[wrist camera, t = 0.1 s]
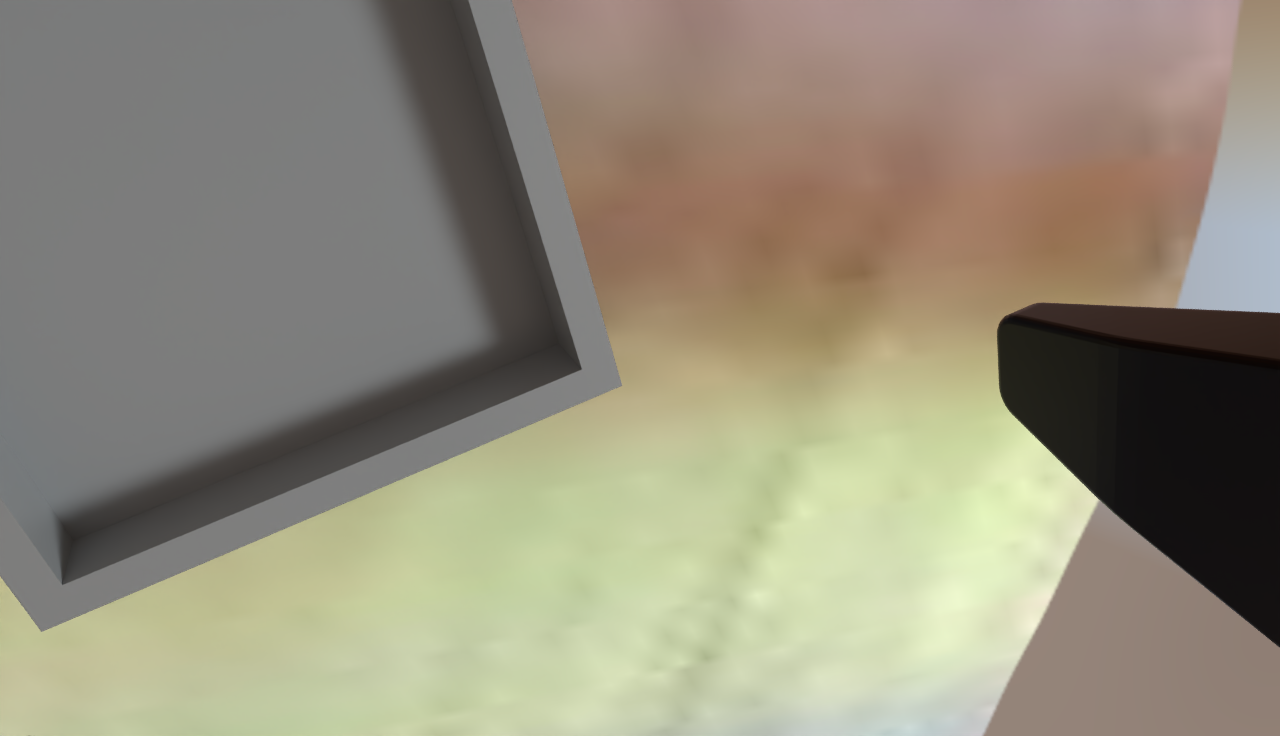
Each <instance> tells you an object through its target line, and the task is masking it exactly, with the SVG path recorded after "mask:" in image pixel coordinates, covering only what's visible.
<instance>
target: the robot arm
mask: <svg viewBox="0 0 1280 736" xmlns="http://www.w3.org/2000/svg"><path fill="white" fill-rule="evenodd" d="M997 346H998V369H999V388H1000V393H1001V397H1002V399H1003V401H1004V404H1005V405H1006V407H1007V408H1008V410H1009V411H1010V412H1011V413H1012V415H1013V416H1014V417H1015V418H1016V419H1018V420H1019V421H1020V422H1021V423H1022V424H1023V425H1024V426H1025V427H1026V428H1027V429H1028V430H1029V431H1030V432H1031V433H1032V434H1033V435H1034V436H1035V437H1036V438H1037V439H1038V440H1039V441H1040V442H1041V443H1042V444H1043V445H1044V446H1045V447H1046V448H1047V449H1048V450H1049V451H1050V452H1051V453H1052V454H1053V455H1054V456H1055V457H1056V458H1057V459H1058V460H1059V461H1060V462H1061V463H1062V464H1063V465H1064V466H1065V467H1066V468H1067V469H1068V470H1069V471H1071V472H1072V473H1073V474H1074V475H1075V476H1076V477H1077V478H1078V479H1079V480H1080V481H1081V482H1082V483H1083V484H1084V485H1085V486H1086V487H1087V488H1088V489H1089V490H1090V491H1091V492H1092V493H1093V494H1094V495H1095V496H1096V497H1097V498H1098V499H1099V500H1100V501H1101V502H1102V503H1104V504H1105V505H1106V506H1107V507H1108V508H1109V509H1110V510H1111V511H1112V512H1113V513H1114V514H1115V515H1117V516H1118V517H1119V518H1120V519H1121V520H1123V521H1124V522H1125V523H1126V524H1127V525H1128V526H1130V527H1131V528H1132V529H1133V530H1135V531H1136V532H1137V533H1138V534H1139V535H1141V536H1142V537H1143V538H1144V539H1146V540H1147V541H1148V542H1149V543H1151V544H1152V545H1153V546H1154V547H1155V548H1157V549H1158V550H1159V551H1161V552H1162V553H1163V554H1164V555H1166V556H1167V557H1168V558H1169V559H1170V560H1172V561H1173V562H1174V563H1175V564H1177V565H1178V566H1179V567H1180V568H1182V569H1183V570H1184V571H1185V572H1187V573H1188V574H1189V575H1190V576H1192V577H1193V578H1194V579H1195V580H1197V581H1198V582H1199V583H1200V584H1201V585H1203V586H1204V587H1205V588H1207V589H1208V590H1209V591H1210V592H1211V593H1213V594H1214V595H1216V597H1218V598H1219V599H1220V600H1221V601H1223V602H1224V603H1225V604H1226V605H1228V606H1229V607H1230V608H1231V609H1232V610H1234V611H1235V612H1236V613H1237V614H1239V615H1240V616H1241V617H1242V618H1244V619H1245V620H1246V621H1247V622H1249V623H1250V624H1251V625H1252V626H1254V627H1255V628H1256V629H1257V630H1258V631H1260V632H1261V633H1262V634H1264V635H1265V636H1266V637H1267V638H1269V639H1270V640H1271V641H1272V642H1274V643H1275V644H1276V645H1277V646H1278V647H1280V313H1268V312H1245V311H1244V312H1243V311H1221V310H1199V309H1176V308H1153V307H1130V306H1107V305H1084V304H1061V303H1036V304H1032V305H1030V306H1027V307H1025V308H1023V309H1021V310H1018V311H1016V312H1014V313H1011V314H1009V315H1007V316H1005V317H1004V318H1003V319H1002V320H1001V321H1000V323H999V326H998V329H997Z"/></svg>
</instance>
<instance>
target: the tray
mask: <svg viewBox="0 0 1280 736" xmlns="http://www.w3.org/2000/svg"><path fill="white" fill-rule="evenodd" d="M620 386H622V384H621V380H620V377H619V373H618V370H617V366H616V363H615V359H614V356H613V352H612V349H611V345H610V342H609V338H608V335H607V331H606V328H605V324H604V321H603V317H602V314H601V310H600V307H599V303H598V300H597V297H596V293H595V290H594V286H593V283H592V279H591V276H590V272H589V269H588V265H587V262H586V258H585V255H584V251H583V248H582V244H581V241H580V237H579V234H578V230H577V227H576V223H575V220H574V216H573V213H572V209H571V206H570V202H569V199H568V195H567V192H566V189H565V185H564V182H563V178H562V175H561V171H560V168H559V164H558V161H557V157H556V154H555V150H554V147H553V143H552V140H551V136H550V133H549V129H548V126H547V122H546V119H545V115H544V112H543V108H542V105H541V101H540V98H539V94H538V91H537V87H536V84H535V81H534V77H533V74H532V70H531V67H530V63H529V60H528V56H527V53H526V49H525V46H524V42H523V39H522V35H521V32H520V28H519V25H518V21H517V18H516V14H515V11H514V7H513V4H512V0H0V576H1V578H2V579H3V580H4V582H5V583H6V585H7V586H8V587H9V589H10V590H11V591H12V593H13V594H14V595H15V597H16V598H17V599H18V601H19V602H20V603H21V605H22V606H23V607H24V609H25V610H26V611H27V613H28V614H29V615H30V617H31V618H32V620H33V621H34V622H35V624H36V625H37V626H38V628H39V629H40V630H41V632H42V631H45V630H47V629H49V628H52V627H54V626H56V625H59V624H61V623H64V622H66V621H68V620H71V619H73V618H75V617H78V616H80V615H82V614H85V613H87V612H89V611H92V610H94V609H97V608H99V607H101V606H104V605H106V604H108V603H111V602H113V601H115V600H118V599H120V598H122V597H125V596H127V595H130V594H132V593H134V592H137V591H139V590H141V589H144V588H146V587H148V586H151V585H153V584H155V583H158V582H160V581H163V580H165V579H167V578H170V577H172V576H174V575H177V574H179V573H181V572H184V571H186V570H188V569H191V568H193V567H196V566H198V565H200V564H203V563H205V562H207V561H210V560H212V559H214V558H217V557H219V556H221V555H224V554H226V553H229V552H231V551H233V550H236V549H238V548H240V547H243V546H245V545H247V544H250V543H252V542H254V541H257V540H259V539H262V538H264V537H266V536H269V535H271V534H273V533H276V532H278V531H280V530H283V529H285V528H288V527H290V526H292V525H295V524H297V523H299V522H302V521H304V520H306V519H309V518H311V517H313V516H316V515H318V514H321V513H323V512H325V511H328V510H330V509H332V508H335V507H337V506H339V505H342V504H344V503H346V502H349V501H351V500H354V499H356V498H358V497H361V496H363V495H365V494H368V493H370V492H372V491H375V490H377V489H379V488H382V487H384V486H387V485H389V484H391V483H394V482H396V481H398V480H401V479H403V478H405V477H408V476H410V475H412V474H415V473H417V472H420V471H422V470H424V469H427V468H429V467H431V466H434V465H436V464H438V463H441V462H443V461H445V460H448V459H450V458H453V457H455V456H457V455H460V454H462V453H464V452H467V451H469V450H471V449H474V448H476V447H479V446H481V445H483V444H486V443H488V442H490V441H493V440H495V439H497V438H500V437H502V436H504V435H507V434H509V433H512V432H514V431H516V430H519V429H521V428H523V427H526V426H528V425H530V424H533V423H535V422H537V421H540V420H542V419H545V418H547V417H549V416H552V415H554V414H556V413H559V412H561V411H563V410H566V409H568V408H570V407H573V406H575V405H578V404H580V403H582V402H585V401H587V400H589V399H592V398H594V397H596V396H599V395H601V394H603V393H606V392H608V391H611V390H613V389H615V388H618V387H620Z"/></svg>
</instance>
